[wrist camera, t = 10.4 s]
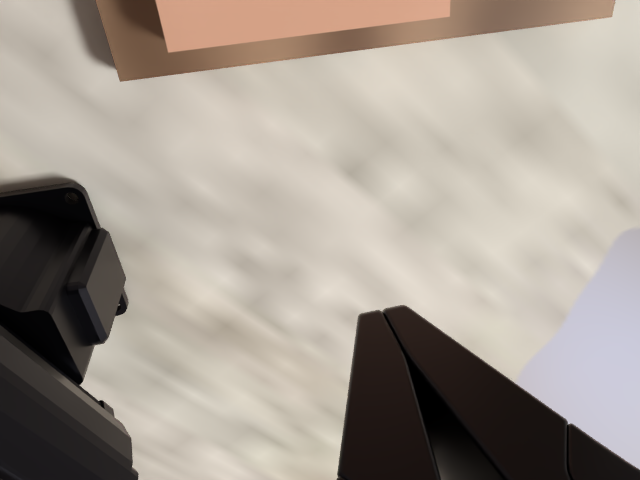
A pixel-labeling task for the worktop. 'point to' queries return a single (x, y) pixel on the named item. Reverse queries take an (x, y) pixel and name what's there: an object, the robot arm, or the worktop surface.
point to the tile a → (280, 18)
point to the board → (320, 34)
